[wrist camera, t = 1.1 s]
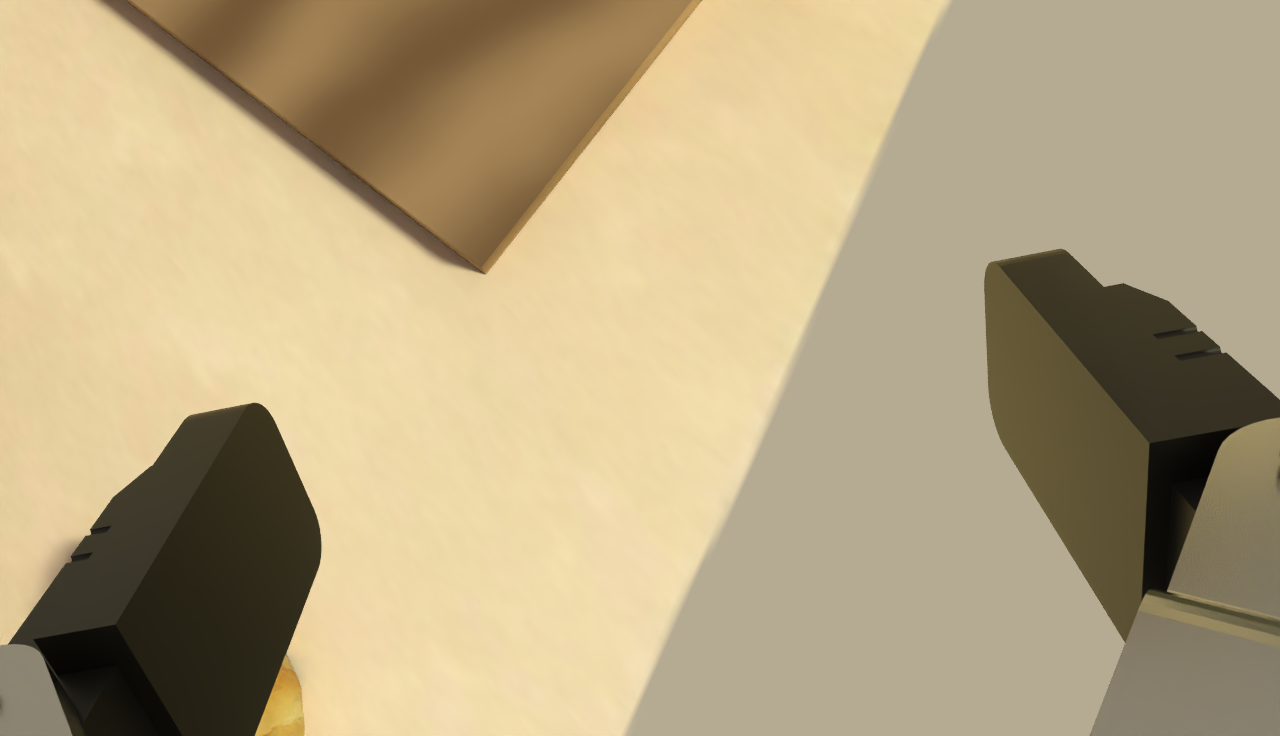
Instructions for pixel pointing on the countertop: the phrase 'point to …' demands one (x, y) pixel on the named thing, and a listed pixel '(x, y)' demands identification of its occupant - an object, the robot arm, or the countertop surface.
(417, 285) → the countertop surface
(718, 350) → the countertop surface
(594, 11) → the base plate
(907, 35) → the countertop surface
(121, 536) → the robot arm
